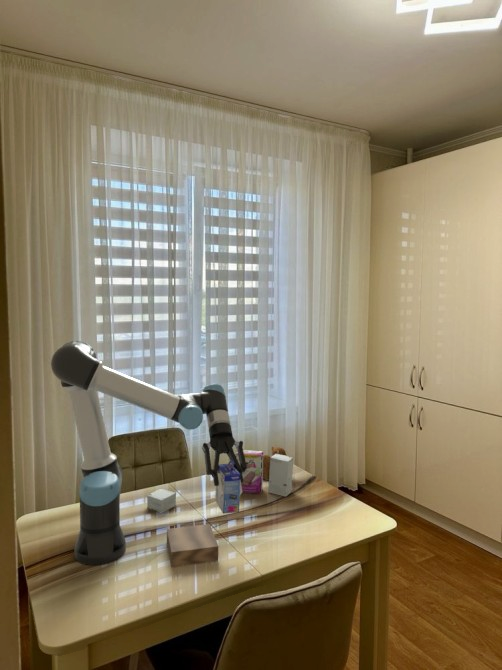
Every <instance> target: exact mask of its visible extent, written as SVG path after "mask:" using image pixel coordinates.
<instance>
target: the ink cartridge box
mask: <svg viewBox="0 0 502 670" xmlns="http://www.w3.org/2000/svg"><path fill="white" fill-rule="evenodd" d="M234 464H235V463H234V462H233V461H232V459H231V460H230V459H229V462H228V463H221V464H219V465H218V472H217V473H220V475H221V481H222V488H223V496H222V497H219V492H218V486H215V500H214V501H215V503H216V504H217V506H218V508H219V509H220V511H221V513H222V514H233V513H234V514H236V513H239V512H240V499H241V498H240V496H241V495H240V473H239V472H238V471H237V469H236V468H235V467H234Z"/></svg>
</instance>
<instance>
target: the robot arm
mask: <svg viewBox="0 0 502 670" xmlns="http://www.w3.org/2000/svg"><path fill="white" fill-rule="evenodd" d="M50 367H51V371H52V373H53V375H54V376H55V377H56V378H57V379H58V380H59V381H60V384H61V387H62V389H64V390H66V391H68V396H69V401H70V405H71V409H72V413H73V417H74V421H75V426H76V431H77V435H78V439H79V443H80V448H81V453H82V457H83V461H82V463H81V464H80V469H81V473H82V479H81V481H80V483H79V489H78V495H79V526H80V527H79V528H80V529H79V532H78V536H77V539H76V543H75V545H74V549H73V550H74V558H75V560H76V561H77V562H79V563H81V564H83V565H88V566H95V565H96V566H97V565H105V564H108V563H112V562H113V561H116V560H117V559H119V558H120V557H122V556H123V555H124V554H125V552H126V546H127V545H126V543H127V542H126V538H125V535H124V533H123V529H122V527H121V521H120V520H121V519H120V517H121V516H120V513H121V511H120V499H121V491H122V484H123V480H124V479H123V477H124V476H123V471H122V468H121V467H120V465H119V463H118V462H119V461H118V456H117V455H116V454H114V453H113V452H111V448H110V443H109V438H108V433H107V430H106V426H105V421H104V417H103V413H102V408H101V404H100V399H99V394H98V392H100V393H102V394H104V395H107V396H110V397H112V398H113V399H114V398H115V399H117V400H120V401H123V402H124V403H128V404H130V405H133V406H135V407H138V408H140V409H142V410H145V411H148V412H150V413H152V414H155V415H158V416H161V417H163V418H166V419H169V420H171V421H173V422H175V423H178V424H179V425H180V426H182V427H183V428H184V429H185V430H189V431H191V430H195V429H197V428H199V427H200V425H202V423H203V420H204V416H203V415H206V420H207V427H208V433H209V434H208V435H209V442H207V443H206V442H204V443H203V444H202V445H201V449H202V451H203V454H204V455H203V456H204V463H205V472H206V473H205V474H206V475H207V476H211V478H213V485H214V486H215V487H216V486H218V492H219V497H222V496H223V488H222V481H221V475H220V473H217V472H218V465H220V464H219V463H220V455H222V454H225V455H227V457H228V458H229V461H230V460H231V459H232V461H233V462H234V463H235V464H234V467H235V468H236V469H237V471H238V472H239V473H240V496H241V495H242V493H243V492H242V486H241V484H242V483H243V476H242V473H243V472H245V471H246V469H247V465H246V461H245V457H244V452H243V450H244V448H243V447H244V441H242V440H240V441H238V440H235V438H234V436H233V431H232V425H231V419H230V415H229V409H228V402H227V397H226V392H225V389H224V387H223V386H222V385H221V384H218V383H210V384H208V385H205V386H204V387H203V389H202V392H193V393H183V394H182V393H179V394H174V393H171V392H169V391H166V390H164V389H161V388H159V387H156V386H154V385H151V384H149V383H146V382H144V381H141V380H139V379H137V378H134V377H132V376H129V375H127V374H124V373H121V372H120V371H117V370H115V369H112V368H109V367H108V366H105V365H104V364H103V361H101V360H98V359H97V354H96V350H94V348H93V347H92V346H91V345H90V344H89V343H87V342H84V341H80V340H72V341H69V342H67V343H65V344H63V345H62V346H61V347H59V348H58V349H56V351H55V352H54V353H53V355H52V357H51V360H50ZM234 446H235V449H236V451H237V452H238V457H239V461H240V464H239V462H238V460H237V458H236V456H235V454H236V453H235V452H234V448H233V447H234ZM210 449H212V450H213V451H214V459H213V468H212V461H211V451H210ZM240 466H241V467H240Z"/></svg>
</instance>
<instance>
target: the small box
mask: <svg viewBox="0 0 502 670" xmlns="http://www.w3.org/2000/svg"><path fill="white" fill-rule="evenodd" d="M176 496H177V493H176V492H173V491H170V490H167V489H164V488H159V489H157V490H155V491H153V492H151V493H149V494H147V495H146V498H147V499H146V504H147V509H150V510H152V509H153V511H155V510H156V511H155V512H158V513H160V512H161V514H162V513H165V512H167V511H168V510H170V509H172V508H174V507H176V506H177V497H176Z"/></svg>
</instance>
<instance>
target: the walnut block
mask: <svg viewBox="0 0 502 670" xmlns="http://www.w3.org/2000/svg"><path fill="white" fill-rule="evenodd" d="M166 545H167V551H168V556H169V561H170V566H171V568H177V567H184V566H190V565H197V564H198V565H199V564H204V563H212V562H218V561H219V544H218V542H217V539H216V537H215V534H214V531H213V528H212V526H211V523H208V524H199V525H189V526H183V527H182V526H181V527H174V528H166Z"/></svg>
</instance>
